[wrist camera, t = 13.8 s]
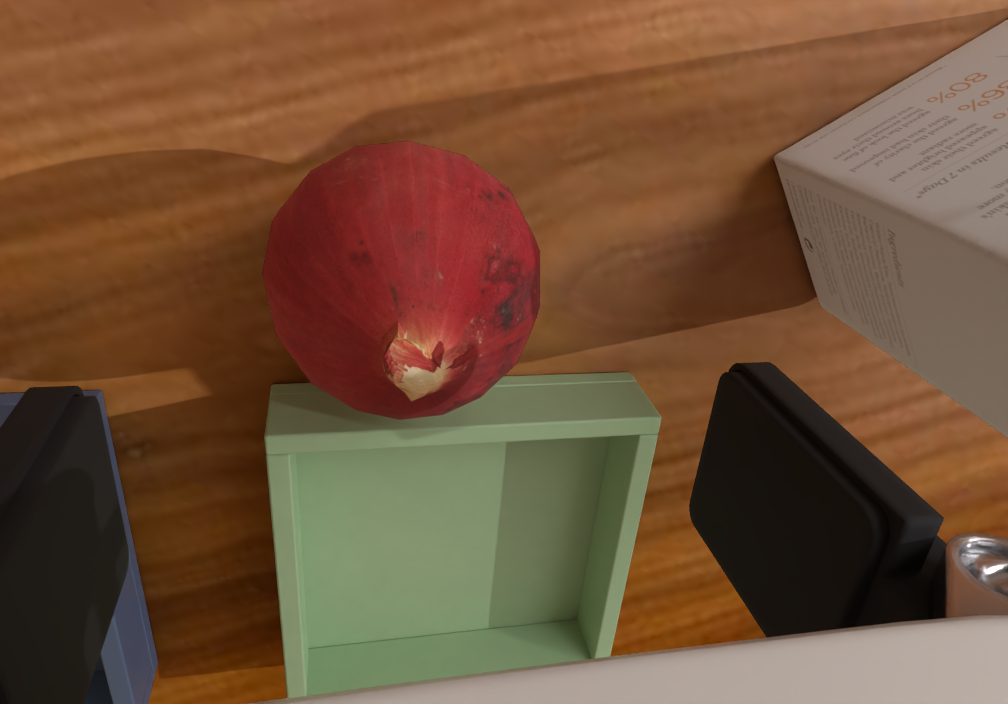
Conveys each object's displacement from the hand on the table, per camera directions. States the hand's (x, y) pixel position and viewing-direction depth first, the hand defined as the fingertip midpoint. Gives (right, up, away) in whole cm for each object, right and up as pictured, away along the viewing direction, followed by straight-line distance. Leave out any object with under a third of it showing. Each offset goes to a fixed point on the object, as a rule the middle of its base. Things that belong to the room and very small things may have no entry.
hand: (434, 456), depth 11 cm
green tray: (-1, -4, +13) cm, 14 cm away
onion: (-2, +5, +8) cm, 10 cm away
